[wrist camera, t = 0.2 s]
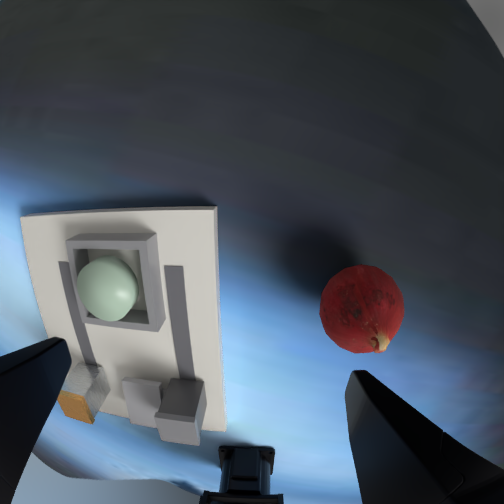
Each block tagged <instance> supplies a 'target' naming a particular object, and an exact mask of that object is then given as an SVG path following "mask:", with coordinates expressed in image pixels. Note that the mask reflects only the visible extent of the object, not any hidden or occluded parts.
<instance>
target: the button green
mask: <svg viewBox="0 0 504 504" xmlns="http://www.w3.org/2000/svg"><path fill="white" fill-rule="evenodd" d="M77 290H78V294H79V297H80V299H81V301H82V303H83V305H84V306H85V307H86V309H87V310H88V311H89V312H90V313H92V314H93V315H94V316H96V317H97V318H99V319H102V320H105V321H117V320H120V319H122V318H123V317H124V316H125V315H126V314H127V313H128V312H129V310H130V309H131V308H132V307H133V305H134V304H135V303H136V301H137V299H138V295H139V285H138V281H137V278H136V275H135V274H134V272H133V270H132V269H131V268H130V267H129V265H128V264H126V263H125V262H124V261H123V260H121V259H119V258H117V257H115V256H110V255H104V256H100V257H98V258H96V259H95V260H93V261H92V262H90V263H89V264H87V265H86V266H85V267H83V268H82V270H81V271H80V273H79V275H78V278H77Z"/></svg>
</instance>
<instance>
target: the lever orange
mask: <svg viewBox="0 0 504 504" xmlns="http://www.w3.org/2000/svg"><path fill="white" fill-rule="evenodd" d="M110 390H111V389H110V386H109V383H108V380H107V378H106V375H105V372H104V369H103V367H99V366H94V365H89V364H85V363H80V362H78V364H77V365H76V366H75V367H74V369H73V370H72V371H71V372H70V374H69V375H68V376H67V378H66V379H65V381H64V384H63V386H62V389H61V391H60V394H59V396H58V398H57V400H58V402H59V404H60V406H61V408H62V410H63V412H64V414H65V416H67V417H70V418H73V419H76V420H79V421H83V422H86V423H89V424H93V423H94V421H95V419H94V418H95V416H96V414H97V413H98V411H99V409H100V407H101V406H102V404H103V402H104V401H105V399H106V397H107V395H108V394H109V392H110Z"/></svg>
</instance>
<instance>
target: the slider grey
mask: <svg viewBox="0 0 504 504" xmlns="http://www.w3.org/2000/svg"><path fill="white" fill-rule="evenodd" d="M206 407H207V400H206V392H205V384H204V381H195V380H185V379H176V378H171V379H170V382H169V384H168V387H167V389H166V392H165V394H164V397H163V399H162V402H161V405H160V407H159V410H158V412H156V413H155V415H154V419H155V422H156V425H157V428H158V431H159V434H160V437H161V440H162V441H168V442H174V443H181V444H188V445H196V446H199V445H200V434H201V429H202V425H203V420H204V416H205V411H206Z"/></svg>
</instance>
